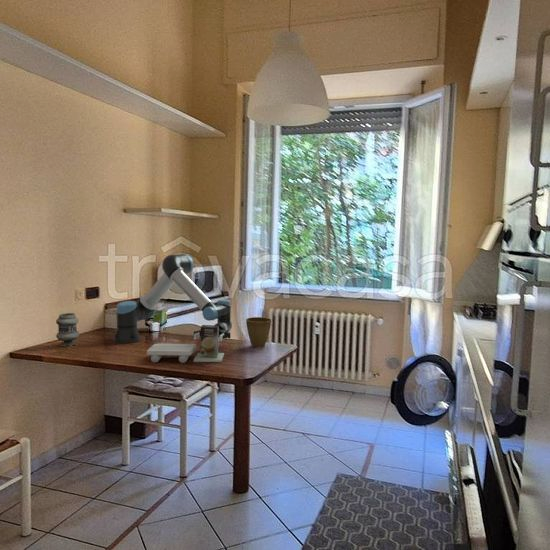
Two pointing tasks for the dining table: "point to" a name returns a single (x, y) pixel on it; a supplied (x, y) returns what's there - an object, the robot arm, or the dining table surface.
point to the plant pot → (258, 330)
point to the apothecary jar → (67, 328)
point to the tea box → (160, 316)
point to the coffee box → (209, 341)
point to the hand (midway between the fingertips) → (207, 337)
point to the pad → (201, 359)
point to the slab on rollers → (171, 351)
